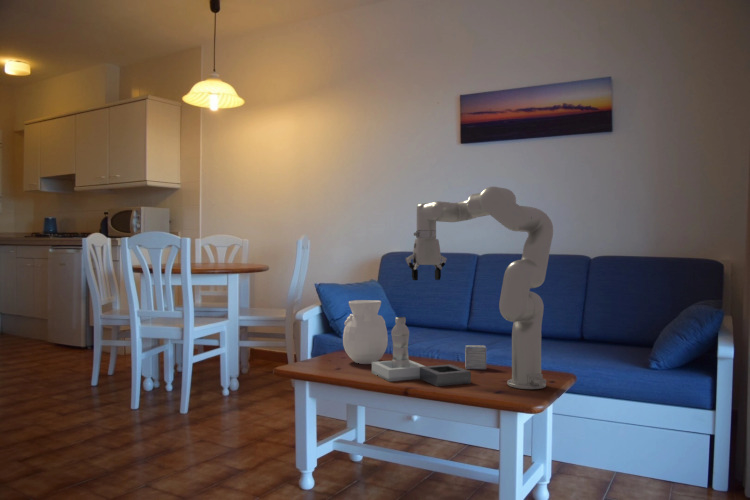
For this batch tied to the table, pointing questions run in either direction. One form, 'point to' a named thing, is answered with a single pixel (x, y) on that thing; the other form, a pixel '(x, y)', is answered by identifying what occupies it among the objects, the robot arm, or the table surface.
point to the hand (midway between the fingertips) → (426, 279)
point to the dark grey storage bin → (445, 375)
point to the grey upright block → (475, 357)
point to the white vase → (365, 332)
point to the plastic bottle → (400, 343)
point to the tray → (396, 371)
